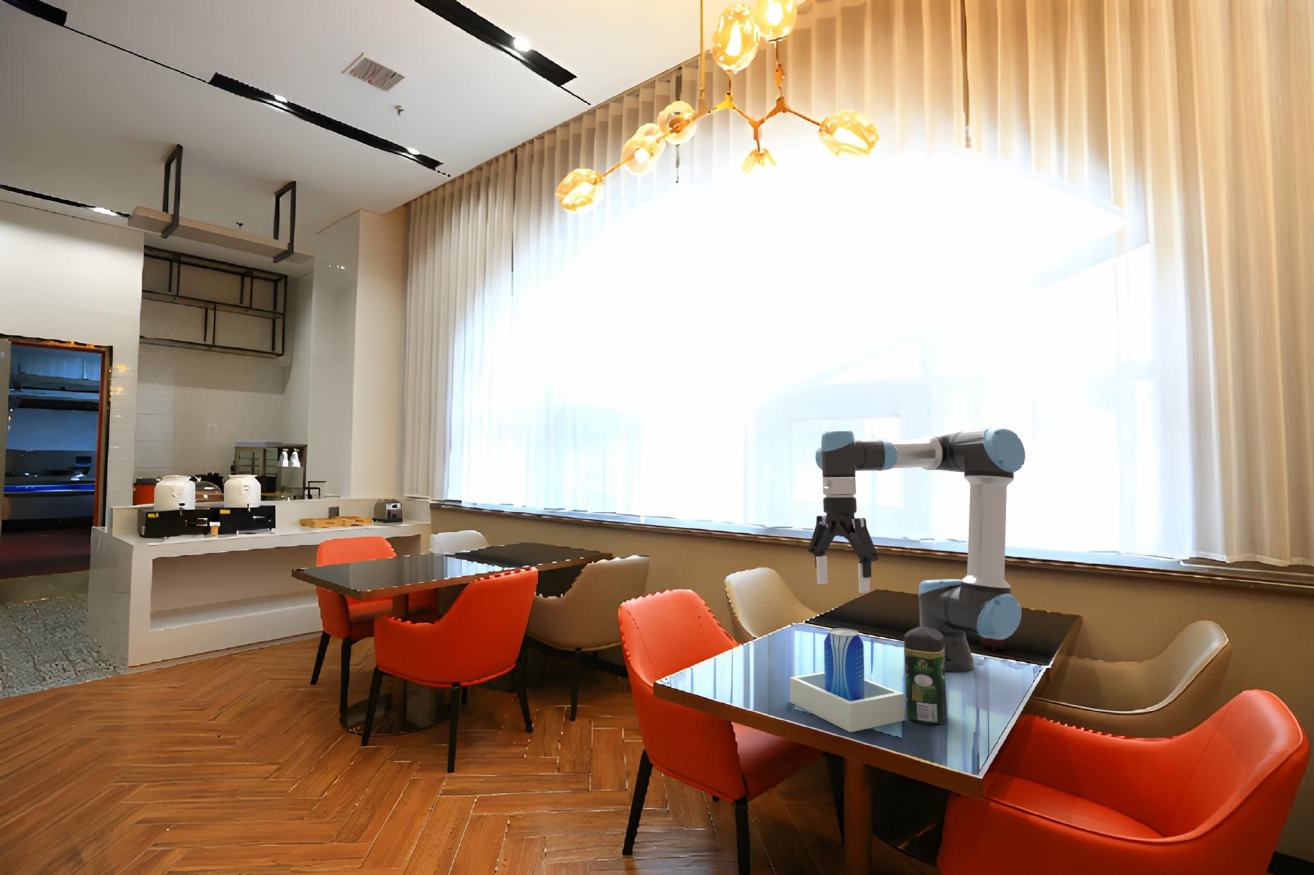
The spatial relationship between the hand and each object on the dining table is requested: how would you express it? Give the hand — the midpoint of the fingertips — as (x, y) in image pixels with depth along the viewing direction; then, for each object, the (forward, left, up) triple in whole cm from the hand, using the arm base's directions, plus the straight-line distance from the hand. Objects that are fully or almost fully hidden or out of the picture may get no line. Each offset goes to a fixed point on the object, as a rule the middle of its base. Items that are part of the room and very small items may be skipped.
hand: (842, 587), depth 147 cm
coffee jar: (-8, +16, -26) cm, 31 cm away
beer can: (+5, +5, -25) cm, 26 cm away
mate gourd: (-73, -16, -26) cm, 79 cm away
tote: (+5, +5, -26) cm, 26 cm away
